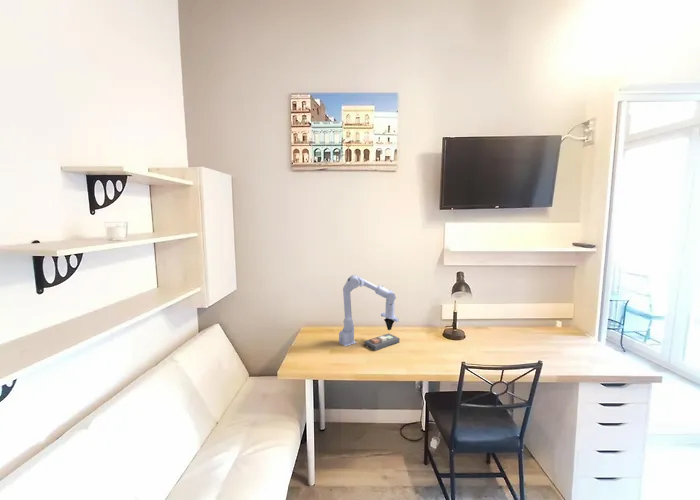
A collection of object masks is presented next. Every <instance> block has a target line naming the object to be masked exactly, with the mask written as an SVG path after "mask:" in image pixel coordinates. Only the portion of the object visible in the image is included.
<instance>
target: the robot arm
mask: <svg viewBox="0 0 700 500" xmlns="http://www.w3.org/2000/svg"><path fill="white" fill-rule="evenodd" d="M358 287H365V288H368V289H370V290H372V291H374V293H375V294H376V295H378V296H380V297H382V298H384V299H385V312H381V313H380V317H384V319H383V320H384V322H385V325H386V329H387V331H390V330H392V328H393V325H394V324H395V323H399V322H400V321H399V320H400V319H399V318H397V316H396V315H395V306H396V305H395V300H396V299H397V298H396V295H395V294H396V293H394V292H393V290H391V289H388V288H386V287H384V285H376V284H374V283H372V282H370V281H368V280H366V279H365V278H363V277H361V276H358V275H356V274H353V275H350V276H349V277H348V278H347V279H346V282H345V284H344V286H343V288H342V292H343V306H344V307H343V309H344V320H343V328H342V330H340V331H339V333H338V343H339V344H340V345H341V346H344V347H348V346H350V345H354V344H357V343H358V342H357V341H355V325H354V324H355V323H354V320H353V318H352V317H353V312H352V301H351V299H352V298H351V292H352V291H353V290H354V289H357V288H358Z"/></svg>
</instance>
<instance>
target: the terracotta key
mask: <svg viewBox="0 0 700 500" xmlns="http://www.w3.org/2000/svg"><path fill="white" fill-rule="evenodd" d="M370 339H371V342H372V343H374V344H377V343H380V340H379V339H377V338H376V337H374V339H373V338H370Z"/></svg>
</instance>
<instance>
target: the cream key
mask: <svg viewBox="0 0 700 500" xmlns="http://www.w3.org/2000/svg"><path fill="white" fill-rule="evenodd" d="M379 336H380V337H379ZM379 336H377V337H378V339H379V340H380V341H382V342H383V341H386V340H387V337H385V336H382V335H379Z"/></svg>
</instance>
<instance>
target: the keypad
mask: <svg viewBox="0 0 700 500" xmlns="http://www.w3.org/2000/svg"><path fill="white" fill-rule="evenodd" d="M389 335H390V336H392V337H394V338H392V339H387V340H386V341H383V342H382V341H380V343H377V344H374V343H372V342H371V339H374V338H377V339H378V337H380V336H385V337H386V336H389ZM374 338H373V337H372V338H369V339H366V340H364V346H365V347H367V348H369V349H371V350H373V351H374V352H376V351H379V350H382V349H385V348H388V347H391V346H394V345H397V344H400V339H401V338H400V337H399V336H395V335H394V334H391V333H389V332H388V333H386V334H383V335H379V336H377V337H374Z"/></svg>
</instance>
